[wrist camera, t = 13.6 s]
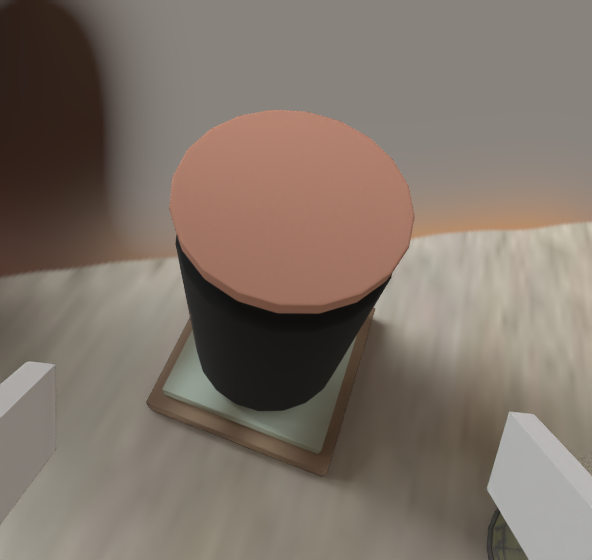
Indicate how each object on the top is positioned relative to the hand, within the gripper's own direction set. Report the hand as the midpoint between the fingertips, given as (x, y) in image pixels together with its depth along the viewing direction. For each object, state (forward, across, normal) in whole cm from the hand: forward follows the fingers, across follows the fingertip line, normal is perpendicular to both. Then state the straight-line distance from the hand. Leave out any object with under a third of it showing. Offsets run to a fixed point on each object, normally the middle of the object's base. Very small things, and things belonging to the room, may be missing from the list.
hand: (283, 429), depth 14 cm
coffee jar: (+21, 0, -7) cm, 23 cm away
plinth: (+24, 0, -9) cm, 26 cm away
